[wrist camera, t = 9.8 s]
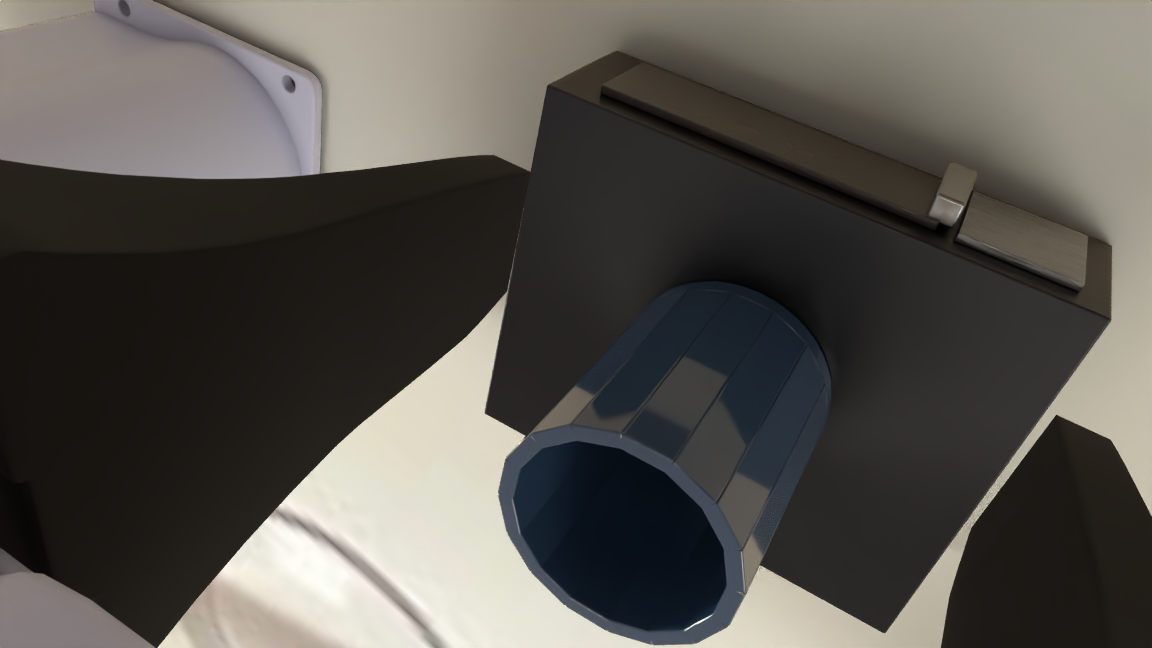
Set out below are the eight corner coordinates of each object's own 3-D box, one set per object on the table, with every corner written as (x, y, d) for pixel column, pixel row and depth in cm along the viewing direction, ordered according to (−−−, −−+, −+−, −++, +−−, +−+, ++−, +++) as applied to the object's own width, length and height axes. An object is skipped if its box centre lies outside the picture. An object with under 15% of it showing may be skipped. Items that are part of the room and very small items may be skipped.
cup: (610, 403, 22) (483, 556, 18) (659, 245, 20) (521, 380, 15) (786, 495, 21) (697, 687, 17) (868, 340, 18) (785, 520, 14)
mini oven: (544, 354, 28) (483, 413, 25) (622, 22, 21) (552, 53, 19) (909, 543, 24) (885, 634, 22) (1132, 216, 18) (1135, 289, 15)
